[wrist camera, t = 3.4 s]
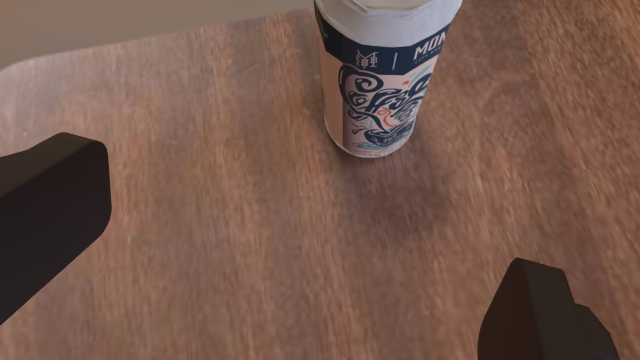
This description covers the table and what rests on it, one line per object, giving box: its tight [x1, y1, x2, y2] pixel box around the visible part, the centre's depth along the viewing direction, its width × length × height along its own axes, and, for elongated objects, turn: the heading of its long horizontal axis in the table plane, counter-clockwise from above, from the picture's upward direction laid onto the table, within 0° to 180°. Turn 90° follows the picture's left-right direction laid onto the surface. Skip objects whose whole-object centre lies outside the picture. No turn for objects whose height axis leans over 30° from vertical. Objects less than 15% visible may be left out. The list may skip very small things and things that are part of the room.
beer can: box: [314, 0, 462, 158], centre depth 20 cm, size 5×5×12 cm
